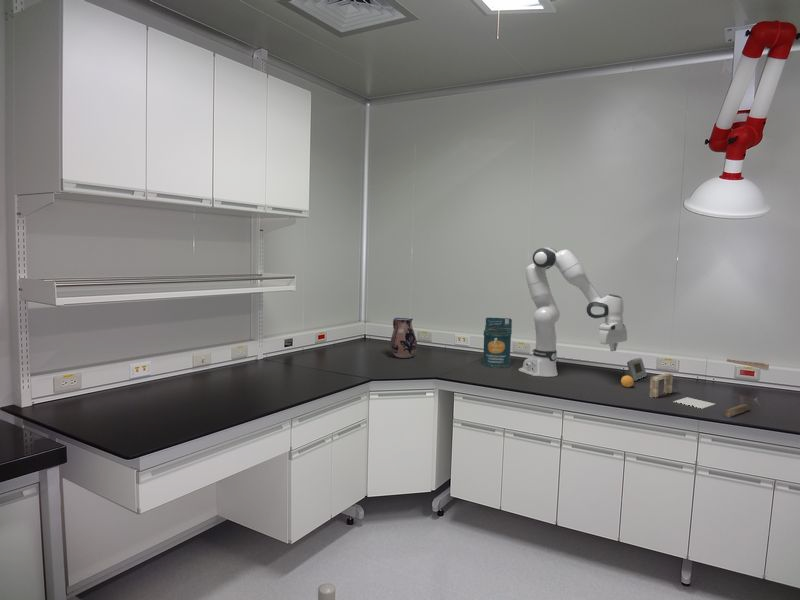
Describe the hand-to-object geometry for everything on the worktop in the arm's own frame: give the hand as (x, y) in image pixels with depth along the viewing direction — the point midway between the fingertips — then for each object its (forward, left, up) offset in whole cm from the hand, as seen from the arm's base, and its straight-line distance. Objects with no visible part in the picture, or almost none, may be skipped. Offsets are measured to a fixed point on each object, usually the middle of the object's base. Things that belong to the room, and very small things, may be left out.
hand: (613, 351), depth 280 cm
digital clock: (+1, +21, -18) cm, 28 cm away
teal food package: (-65, -21, -18) cm, 70 cm away
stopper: (+61, -1, -17) cm, 64 cm away
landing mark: (+43, -1, -17) cm, 47 cm away
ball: (+9, -1, -14) cm, 17 cm away
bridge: (+27, -1, -17) cm, 32 cm away
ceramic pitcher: (-116, -56, -18) cm, 130 cm away
